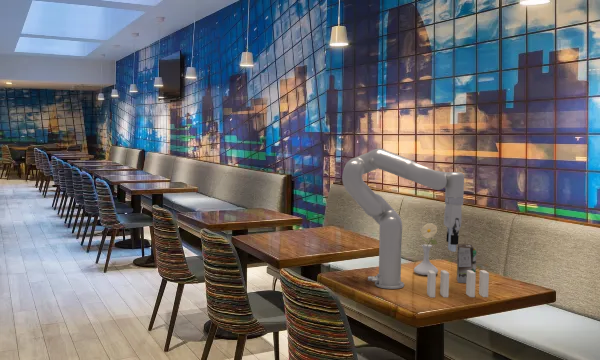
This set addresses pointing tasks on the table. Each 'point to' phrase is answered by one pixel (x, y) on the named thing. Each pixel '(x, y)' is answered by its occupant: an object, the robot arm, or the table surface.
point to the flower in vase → (427, 250)
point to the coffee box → (464, 261)
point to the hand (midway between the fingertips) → (452, 242)
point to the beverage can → (474, 260)
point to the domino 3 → (450, 247)
